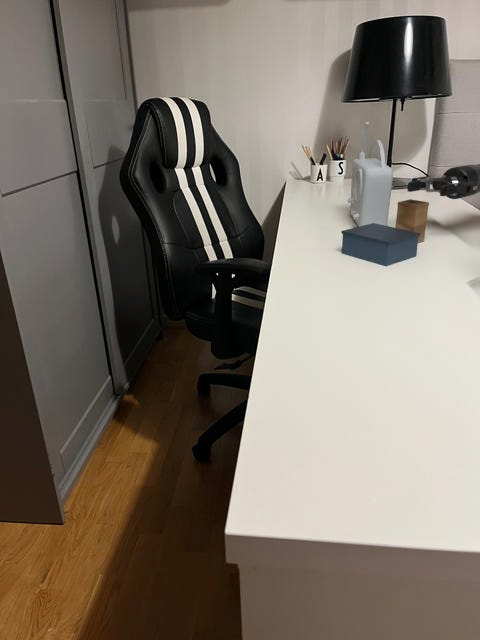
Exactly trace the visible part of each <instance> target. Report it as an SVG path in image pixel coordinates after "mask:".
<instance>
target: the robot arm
mask: <svg viewBox="0 0 480 640" xmlns="http://www.w3.org/2000/svg"><path fill="white" fill-rule="evenodd" d="M431 186H432V188H431ZM419 191H425V192H426V193H438V194H439V196H440V197H447V198H448V199H451V200H458V199H464V198H468V197H471V196H475V195H477V194H480V163H478V164H465V165H459V166H453V167H450V168H448V169H447V170H446V171H444V173H443V174H442V175H437V176H430V175H426V176H419V177H413V178H411V181H408V183H407V192H409V193H412V192H419Z"/></svg>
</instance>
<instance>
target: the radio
mask: <svg viewBox="0 0 480 640" xmlns="http://www.w3.org/2000/svg"><path fill="white" fill-rule="evenodd" d="M369 126H370V122H369V121H366V122H365V124H364V131H363V132H364V133H363V139H362V145H361V150H360V153H358V158H354V160H353V161H352V164H351V182H350V183H351V184H350V185H351V187H350V189H351V190H350V197H348V198H347V203H349V204H350V208H349V210H350V211H349V212H350V215H351V217H352V218H353V220H354V222H355V223H356V225H357V227H359V226H363V225H367V224H371V223H376V224H380V225H385V226H388V221H389V213H390V205H391V196H392V187H393V180H394V170H393V168H392V167H390V166H389V165H387V164H386V156H385V149H384V145H383V142H382V141H381V140H380V139H374V140H373V141H372V143H371V145H370V148H369V151H368V155H367V158H366V153H365V152H364V151H365V147H366V146H365V145H366V140H367V134H368V128H369ZM376 144H377V145H378V148H379V153H380V160H379V159H378V158H376V157H372V156H373V153H374V148H375V146H376Z"/></svg>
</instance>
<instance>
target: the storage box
mask: <svg viewBox="0 0 480 640" xmlns="http://www.w3.org/2000/svg"><path fill="white" fill-rule="evenodd" d="M341 234H342V242H341V243H342V244H341V254H343V255H346V256H350V257H354V258H357V259H360V260H364V261H368V262H371V263H375V264H378V265H381V266H385V267H387V266H390V265H394V264H396V263H400V262H403V261H405V260H409V259H412V258H415V257H417V254H418V253H417V252H418V245H419V243H418V238H419V236H420V233H417V232H413V231H408V230H403V229H399V228H396V227H394V226H390V225H387V226H385V225H380V224H376V223H371V224H367V225H363V226H356V227H352V228H347V229H343V230H341Z"/></svg>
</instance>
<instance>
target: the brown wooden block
mask: <svg viewBox="0 0 480 640" xmlns="http://www.w3.org/2000/svg"><path fill="white" fill-rule="evenodd" d="M429 207H430V202H429V201H423V200H416V199H412V198H411V199H410V198H409V199H406V200H401V201H397V208H396V209H397V210H396V220H395V228H399V229H403V230H408V231H413V232H417V233H420V236H419V238H418V244H420V243H423V242H424V241H425V237H426V236H425V235H426V229H427V228H426V227H427V222H428V221H427V220H428V212H429Z"/></svg>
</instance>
